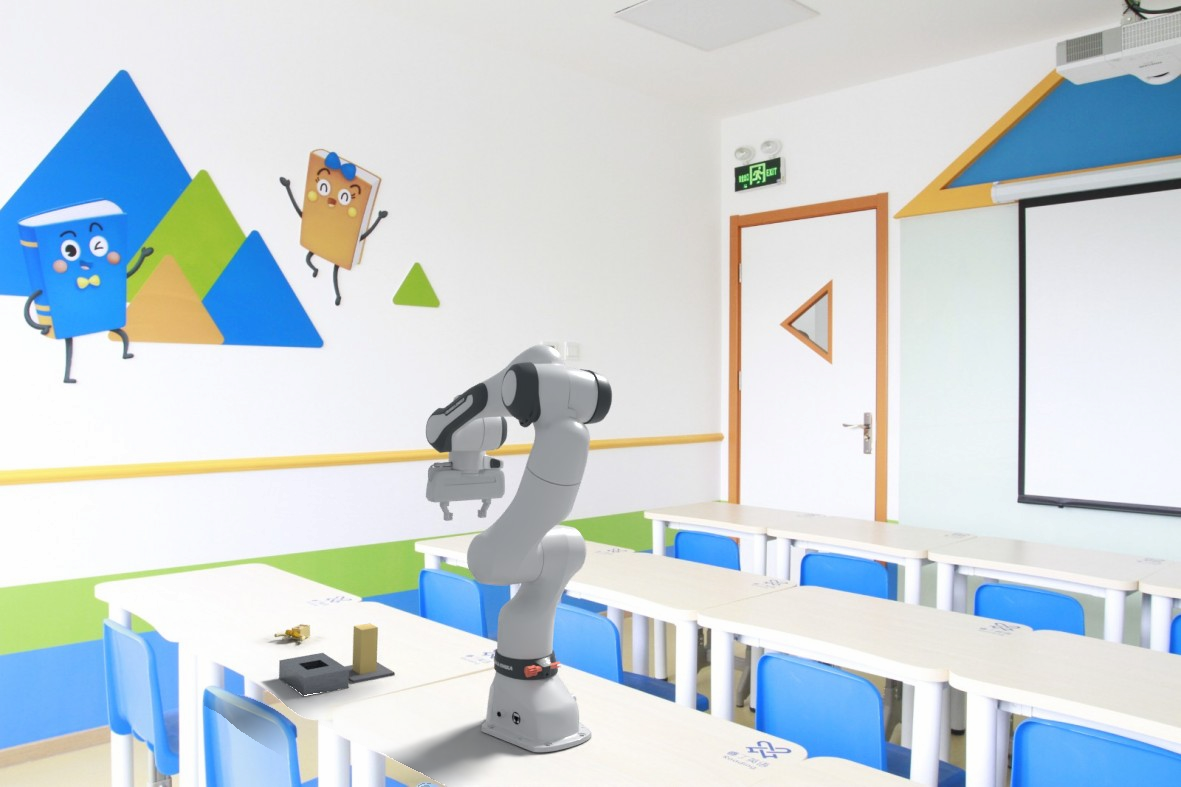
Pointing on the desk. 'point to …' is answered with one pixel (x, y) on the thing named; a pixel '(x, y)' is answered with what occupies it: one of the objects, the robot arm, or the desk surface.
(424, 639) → the desk surface
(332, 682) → the grey block with hole
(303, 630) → the character toy
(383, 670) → the rubber mat
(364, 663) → the square block
